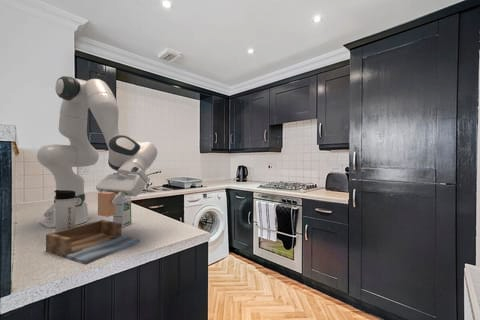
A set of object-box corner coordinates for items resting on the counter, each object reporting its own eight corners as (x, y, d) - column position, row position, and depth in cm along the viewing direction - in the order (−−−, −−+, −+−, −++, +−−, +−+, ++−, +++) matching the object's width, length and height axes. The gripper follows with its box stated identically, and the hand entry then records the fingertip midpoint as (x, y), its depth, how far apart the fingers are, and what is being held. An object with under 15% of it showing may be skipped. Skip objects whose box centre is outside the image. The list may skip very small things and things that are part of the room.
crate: (45, 251, 76) (45, 234, 76) (102, 233, 95) (102, 219, 95) (85, 264, 67) (85, 244, 67) (139, 241, 86) (139, 226, 86)
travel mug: (57, 238, 88) (57, 189, 88) (77, 236, 91) (77, 188, 91) (51, 244, 83) (51, 191, 83) (72, 241, 85) (72, 190, 85)
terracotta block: (97, 215, 78) (97, 192, 78) (105, 213, 81) (105, 191, 81) (107, 216, 76) (107, 193, 76) (115, 214, 79) (115, 192, 79)
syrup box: (123, 227, 103) (123, 196, 103) (112, 226, 105) (112, 196, 104) (131, 224, 109) (131, 194, 109) (121, 223, 110) (121, 194, 110)
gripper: (107, 168, 89) (81, 195, 80) (143, 169, 81) (120, 199, 72) (117, 178, 94) (93, 205, 85) (153, 180, 85) (131, 210, 76)
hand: (106, 202), depth 78 cm, fingers closed on terracotta block, 5 cm apart
